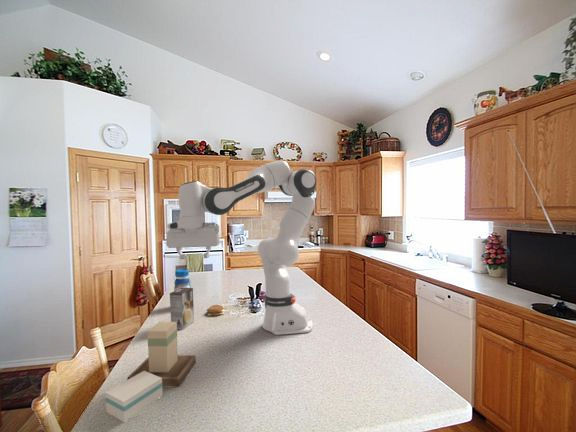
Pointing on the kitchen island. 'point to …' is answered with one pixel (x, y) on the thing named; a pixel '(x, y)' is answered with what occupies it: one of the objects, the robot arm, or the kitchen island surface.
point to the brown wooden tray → (174, 374)
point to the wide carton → (133, 395)
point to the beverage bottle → (182, 279)
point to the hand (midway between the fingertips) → (194, 258)
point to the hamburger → (215, 310)
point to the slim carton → (162, 346)
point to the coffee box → (182, 307)
